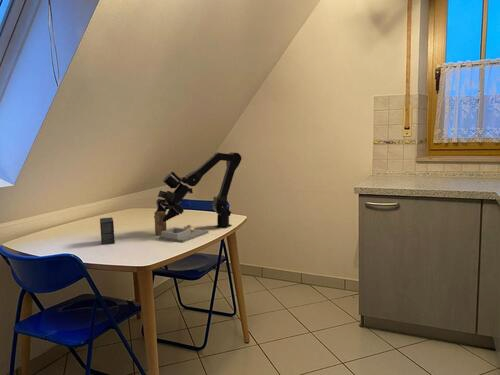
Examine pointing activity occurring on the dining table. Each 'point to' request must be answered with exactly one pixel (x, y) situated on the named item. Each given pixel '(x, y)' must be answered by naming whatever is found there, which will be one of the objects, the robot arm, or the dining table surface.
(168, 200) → the robot arm
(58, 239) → the dining table surface
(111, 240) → the box
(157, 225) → the wooden block
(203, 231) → the housing
